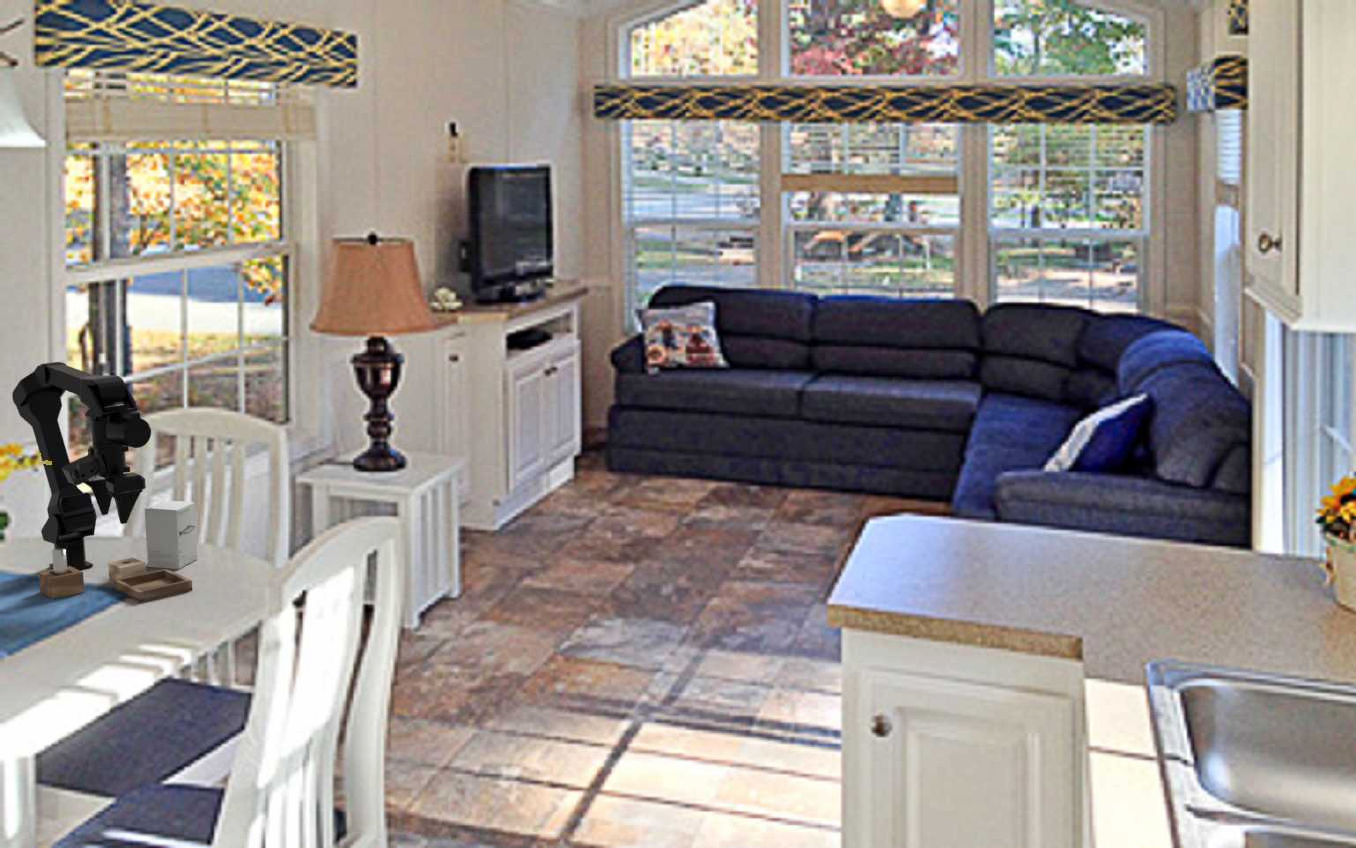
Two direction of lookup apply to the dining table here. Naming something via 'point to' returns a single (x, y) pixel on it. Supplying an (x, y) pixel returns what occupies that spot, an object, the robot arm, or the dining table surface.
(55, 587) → the brown square socket
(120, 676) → the dining table surface
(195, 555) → the supplement box
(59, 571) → the cylinder
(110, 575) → the maple block
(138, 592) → the tray
